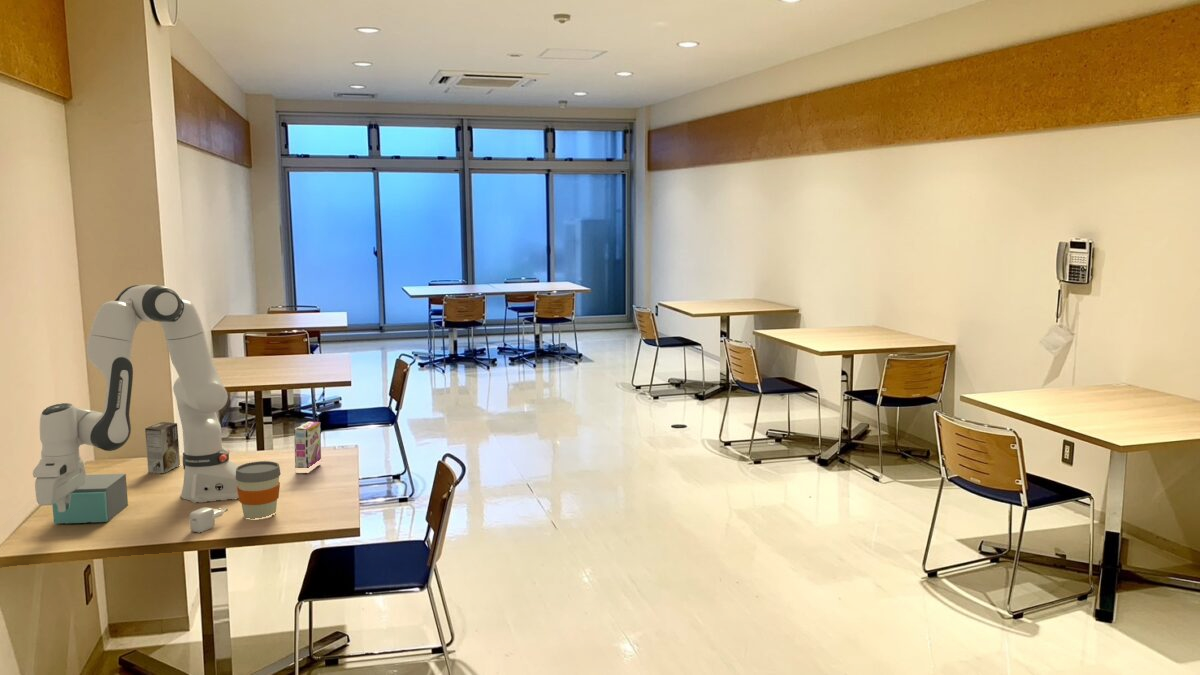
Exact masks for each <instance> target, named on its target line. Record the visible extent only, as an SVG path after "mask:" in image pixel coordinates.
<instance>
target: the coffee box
mask: <svg viewBox="0 0 1200 675" xmlns="http://www.w3.org/2000/svg"><path fill="white" fill-rule="evenodd" d="M144 430H145V431H144V432H145V444H146V461H147V472H153V473H152V474H160V473H164V474H166V473H168V471H169V470H171V469H173V468H175V467H177V466H179V465H180V466H181V460H180V458H181V457H180V444H179V443H180V442H179V429H178V423H177V422H167V421H165V422H164V421H161V422H158V423H156V424H153V425H150V426H147V427H146V428H144ZM180 466H179V467H180ZM177 468H178V467H177ZM175 469H176V468H175ZM173 470H174V469H173ZM171 471H172V470H171ZM155 472H156V473H155ZM165 472H166V473H165ZM169 472H170V471H169Z"/></svg>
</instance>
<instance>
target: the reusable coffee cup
mask: <svg viewBox="0 0 1200 675" xmlns="http://www.w3.org/2000/svg"><path fill="white" fill-rule="evenodd" d="M280 468H281V467H280V464H279V463H278V462H275V461H269V460H266V461H265V460H264V461H262V460H261V461H253V462H247V463H244V464H241V465H238V467H237V468H236V478H235V479H236V480H237V483H238V486H237V491H238V496H239V499H238V500H239V503H240V504H241V509H242V513H243V514H242V515H243V518H244V517H245V518H250V519H255V518H262V517H266V516H269V515H271V514H273V513H275V512H276V513H277V503H278V499H279V497H280V487H281V482H280V476H281V469H280ZM245 518H244V519H245Z"/></svg>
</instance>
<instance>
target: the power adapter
mask: <svg viewBox="0 0 1200 675" xmlns="http://www.w3.org/2000/svg"><path fill="white" fill-rule="evenodd" d="M228 510H229V509H228V508H225V509H223V510H222V508H221V507H217V508H212V507H205V506H204V507H200V508H198V509H195V510H193V511H191V512H190V513H189V527H190V528H189V529H190V531H191V532H194V533H200V532H201V533H203V532H206V531H208V530H210V529H212V528H214V527H215V525H216V524H215V519H217V518H219V517H222V515H223V514H224V513H226V512H228Z"/></svg>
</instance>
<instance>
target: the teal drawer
mask: <svg viewBox="0 0 1200 675" xmlns="http://www.w3.org/2000/svg"><path fill="white" fill-rule="evenodd" d="M51 506H52V514H53V515H52V516H53V524H56V525H58V524H59V525H60V523H65V524H83V523H84V524H85V523H86V522H91V523H108V522H107V521H108V512H107V498H106V491H103V492H73V493H72V496H71V500H70V508H69V509H67V510H66V511H64V512H58V506H57V505H56V503H55V504H53V505H51Z"/></svg>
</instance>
